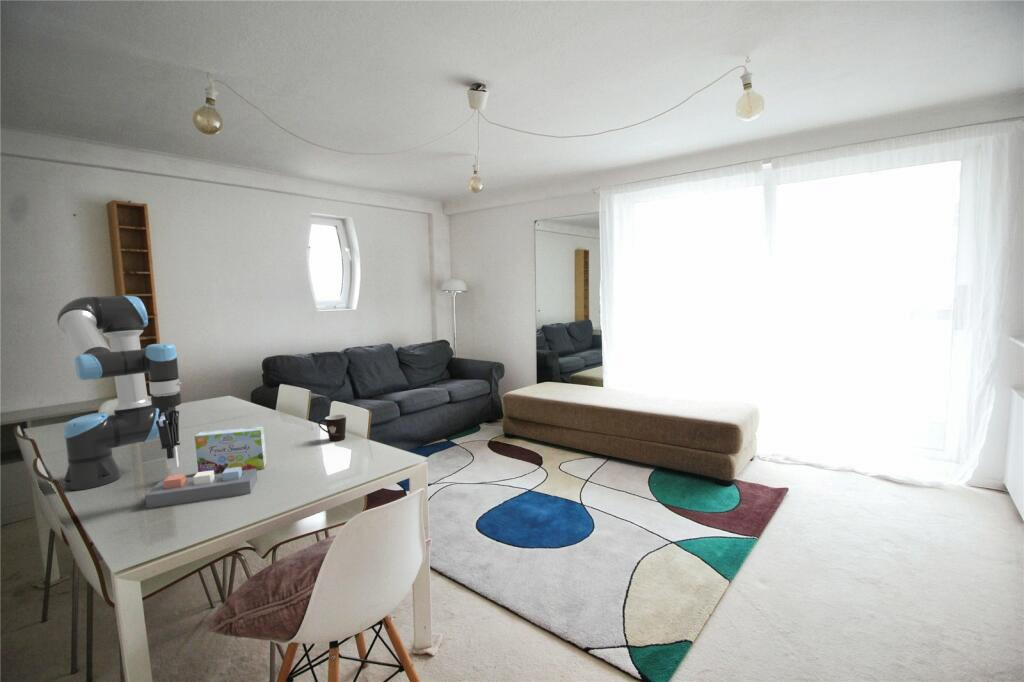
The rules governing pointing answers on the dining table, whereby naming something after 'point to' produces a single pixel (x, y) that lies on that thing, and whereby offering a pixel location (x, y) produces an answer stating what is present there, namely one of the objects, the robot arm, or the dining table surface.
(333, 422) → the coffee mug
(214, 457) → the snack box
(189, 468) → the dining table surface
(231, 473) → the slate key
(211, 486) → the console
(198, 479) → the ivory key
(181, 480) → the brick key
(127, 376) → the robot arm
